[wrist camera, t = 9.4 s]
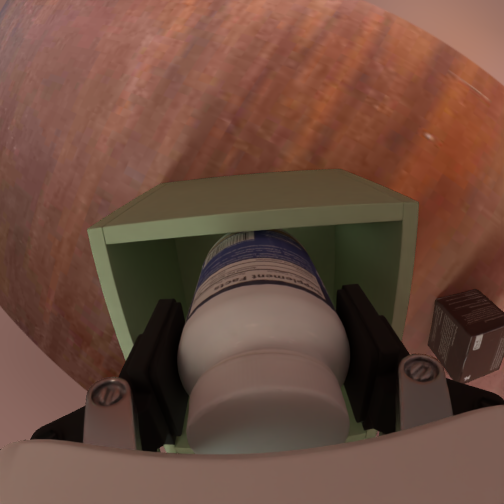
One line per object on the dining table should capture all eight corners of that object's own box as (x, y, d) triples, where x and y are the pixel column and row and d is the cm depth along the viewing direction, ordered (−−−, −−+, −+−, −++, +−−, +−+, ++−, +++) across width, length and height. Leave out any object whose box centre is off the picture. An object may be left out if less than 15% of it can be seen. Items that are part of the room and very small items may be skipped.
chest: (159, 183, 24) (86, 229, 12) (341, 168, 23) (419, 201, 12) (190, 348, 29) (166, 453, 18) (337, 337, 29) (375, 437, 17)
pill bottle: (296, 327, 17) (331, 489, 8) (197, 311, 16) (158, 475, 7) (324, 233, 15) (418, 370, 6) (212, 211, 14) (158, 340, 5)
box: (466, 333, 30) (499, 370, 23) (425, 345, 30) (455, 388, 23) (477, 287, 28) (516, 321, 21) (434, 297, 28) (472, 337, 21)
